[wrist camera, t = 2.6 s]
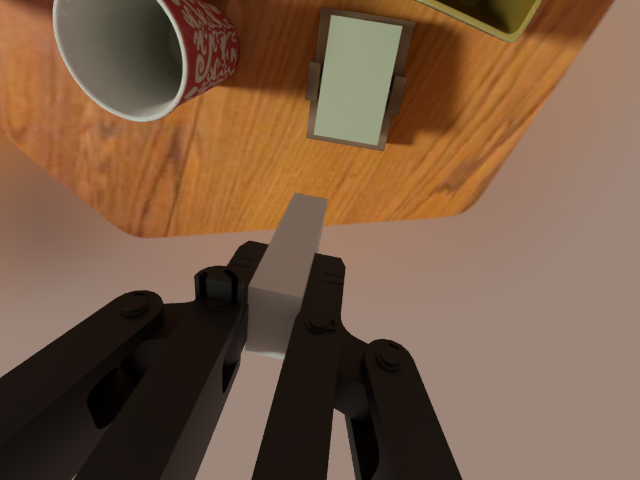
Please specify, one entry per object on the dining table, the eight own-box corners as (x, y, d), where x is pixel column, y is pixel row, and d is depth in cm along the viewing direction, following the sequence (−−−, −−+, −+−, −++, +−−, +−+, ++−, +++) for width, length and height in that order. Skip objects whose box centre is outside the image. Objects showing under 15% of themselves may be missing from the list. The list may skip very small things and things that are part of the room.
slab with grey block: (322, 9, 30) (315, 4, 25) (413, 23, 29) (421, 21, 25) (309, 130, 36) (300, 143, 31) (384, 143, 35) (386, 158, 31)
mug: (267, 38, 32) (211, 40, 20) (221, 112, 36) (154, 147, 24) (151, -71, 28) (6, -144, 17) (116, 24, 32) (-19, 18, 21)
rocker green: (332, 22, 27) (331, 14, 25) (398, 33, 27) (402, 26, 25) (315, 134, 30) (313, 134, 28) (375, 144, 30) (377, 145, 28)
